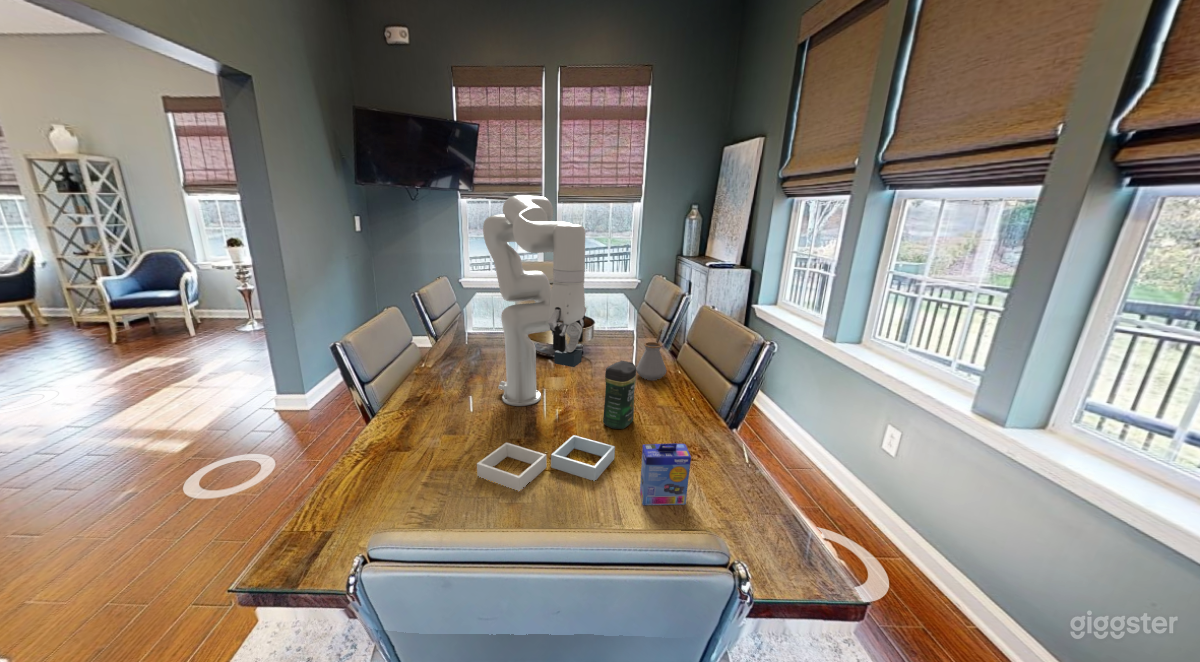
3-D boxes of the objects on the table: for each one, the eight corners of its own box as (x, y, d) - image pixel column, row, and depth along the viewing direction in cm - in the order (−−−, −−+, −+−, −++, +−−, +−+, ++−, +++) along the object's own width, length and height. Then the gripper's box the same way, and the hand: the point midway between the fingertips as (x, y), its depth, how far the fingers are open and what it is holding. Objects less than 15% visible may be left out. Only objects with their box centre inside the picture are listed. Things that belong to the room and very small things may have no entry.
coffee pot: (662, 384, 162) (665, 345, 158) (632, 379, 165) (633, 341, 161) (673, 365, 181) (676, 330, 177) (646, 362, 185) (648, 327, 181)
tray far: (551, 467, 109) (551, 454, 108) (573, 446, 118) (573, 435, 117) (594, 481, 104) (595, 468, 103) (614, 458, 113) (614, 446, 112)
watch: (584, 359, 116) (585, 318, 113) (570, 369, 109) (571, 326, 106) (565, 356, 118) (566, 316, 115) (550, 365, 111) (550, 323, 108)
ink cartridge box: (642, 507, 95) (646, 446, 91) (638, 491, 100) (641, 433, 97) (687, 505, 96) (693, 446, 92) (681, 490, 101) (686, 432, 97)
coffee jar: (623, 432, 126) (626, 371, 121) (599, 425, 130) (600, 366, 125) (637, 419, 134) (640, 361, 129) (614, 413, 138) (616, 356, 133)
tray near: (477, 476, 104) (476, 463, 103) (506, 454, 114) (506, 442, 113) (519, 491, 99) (519, 478, 98) (546, 467, 109) (546, 454, 108)
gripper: (573, 271, 116) (572, 335, 121) (535, 280, 101) (536, 352, 106) (598, 273, 113) (597, 339, 118) (563, 283, 98) (563, 358, 103)
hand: (568, 345), depth 112 cm, fingers closed on watch, 8 cm apart
